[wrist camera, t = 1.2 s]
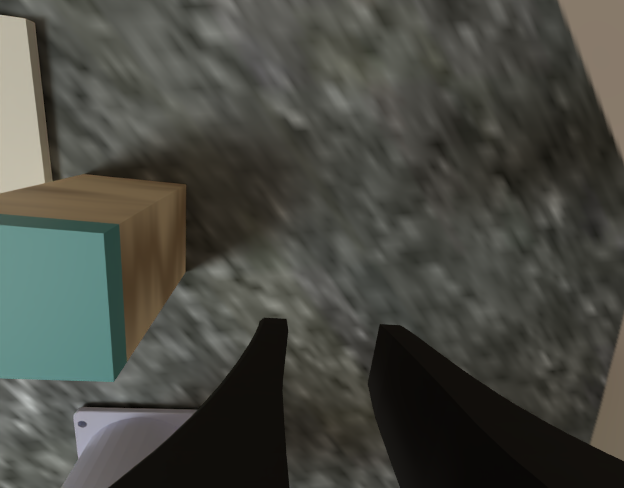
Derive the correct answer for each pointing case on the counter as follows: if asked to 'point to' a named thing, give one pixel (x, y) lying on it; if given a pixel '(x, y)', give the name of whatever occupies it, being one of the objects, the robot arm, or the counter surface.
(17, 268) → the wooden block
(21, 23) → the board
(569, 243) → the counter surface
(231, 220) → the counter surface
